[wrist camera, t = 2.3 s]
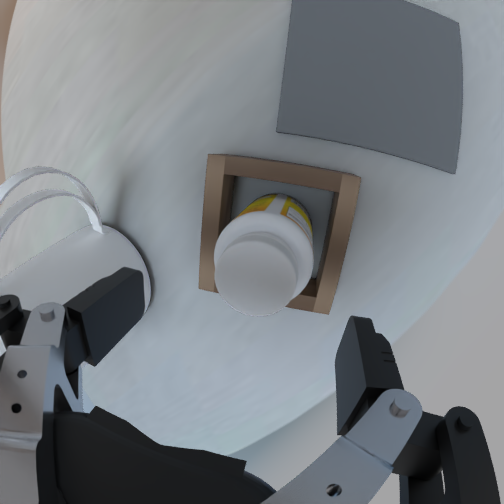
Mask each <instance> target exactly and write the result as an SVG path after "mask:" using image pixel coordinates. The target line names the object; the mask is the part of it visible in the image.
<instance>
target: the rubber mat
mask: <svg viewBox="0 0 504 504" xmlns="http://www.w3.org/2000/svg"><path fill="white" fill-rule="evenodd" d="M462 105H463V67H462V50H461V38H460V29H459V23H457V22H455V21H453V20H451V19H449V18H447V17H445V16H443V15H440V14H438V13H436V12H433V11H431V10H428V9H426V8H423V7H421V6H418V5H415V4H413V3H410V2H407V1H404V0H292V7H291V15H290V24H289V32H288V40H287V49H286V57H285V65H284V73H283V81H282V89H281V97H280V105H279V113H278V121H277V128H276V132H280V133H287V134H294V135H301V136H307V137H313V138H319V139H324V140H330V141H335V142H340V143H345V144H349V145H354V146H358V147H363V148H367V149H371V150H375V151H379V152H383V153H387V154H391V155H394V156H398V157H401V158H405V159H408V160H412V161H415V162H418V163H422V164H425V165H428V166H431V167H434V168H437V169H440V170H443V171H446V172H448V173H451V174H455V173H456V167H457V160H458V153H459V144H460V135H461V123H462Z"/></svg>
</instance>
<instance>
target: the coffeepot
mask: <svg viewBox="0 0 504 504" xmlns="http://www.w3.org/2000/svg"><path fill="white" fill-rule="evenodd" d="M44 173H59V174H62V175H64V176H66V177H67V178H68V179H69V180H71V181H72V182H73V183H74V184H75V186H76V187H77V188H78V190H79V191H80V193H81V194H82V196H83V198H84V199H82V198H81V197H79V196H77V195H75V194H72V193H70V192H68V191H65V190H61V189H46V190H41V191H37V192H35V193H32V194H30V195H28V196H26V197H24V198H22V199H21V200H19V201H17V202H16V203H15V204H14V205H12V206H11V207H10V208H9V209H8V210H7V211H6V212H5V213H4V214H3V215H2V216H1V217H0V241H1V239H2V237H3V235H4V234H5V232H6V231H7V229H8V228H9V226H10V225H11V224H12V222H13V221H14V220H15V219H16V218H17V217H18V216H19V215H20V214H21V213H23V212H24V211H25V210H26V209H28V208H29V207H31V206H33V205H34V204H36V203H38V202H40V201H42V200H45V199H47V198H51V197H55V196H72V197H73V198H75V199H76V200H77V201H78V202H79V203H80V204H81V205H82V206H83V207H84V208H85V209H86V211H87V213H88V216H89V220H90V223H92V225H89V226H86V227H84V228H81V229H80V230H78V231H76V232H74V233H73V234H71V235H69V236H67V237H66V238H64V239H62V240H61V241H59V242H57V243H56V244H54V245H52V246H51V247H49V248H47V249H46V250H44V251H42V252H41V253H39V254H38V255H36V256H35V257H33V258H31V259H30V260H28V261H27V262H25V263H24V264H22V265H21V266H19V267H18V268H16V269H15V270H13V271H12V272H10V273H9V274H8V275H6V276H5V277H3V278H2V279H0V296H3V295H8V294H12V295H16V296H17V297H18V298H19V300H20V303H21V307H22V309H25V310H30V311H32V310H33V309H34V308H35V307H37V306H38V305H40V304H43V303H48V302H55V303H59V304H61V305H63V304H65V303H66V302H68V301H69V300H70V299H72V298H73V297H75V296H76V295H78V294H79V293H80V292H82V291H83V290H84V291H85V289H86V288H88V287H89V286H92V284H94V283H95V282H97V281H98V280H100V279H102V278H105V277H108V276H110V275H112V274H113V273H115V272H116V271H118V270H119V269H121V268H122V267H128V268H132V269H136V270H140V271H141V272H142V273H143V278H144V296H145V310H144V313H145V312H146V310H147V308H148V305H149V302H150V296H151V286H150V279H149V275H148V272H147V269H146V266H145V263H144V261H143V259H142V257H141V256H140V254H139V252H138V251H137V249H136V248H135V247H134V245H133V244H132V243H131V242H130V241H129V240H128V239H127V238H126V237H125V236H124V235H122V234H121V233H120V232H118V231H117V230H115V229H113V228H111V227H108V226H105V225H102V222H101V218H100V214H99V210H98V207H97V205H96V202H95V200H94V198H93V196H92V195H91V193H90V191H89V190H88V189H87V187H86V186H85V185H84V184H83V183H82V182H81V181H80V180H79V179H78V178H76V177H74V176H72V175H71V174H69V173H66V172H63V171H60V170H57V169H54V168H51V167H41V166H38V167H33V168H27V169H24V170H22V171H20V172H18V173H16V174H14V175H13V176H11V177H10V178H9V179H8V180H6V181H5V182H4V183H3V184H2V185H1V186H0V205H1V203H2V202H3V201H4V199H5V198H6V197H7V196H8V194H9V193H10V192H11V191H12V190H13V189H14V188H16V187H17V186H18V185H19V184H20V183H22V182H23V181H25V180H27V179H29V178H31V177H33V176H35V175H40V174H44ZM143 315H144V314H143ZM4 352H6V348H5V346H4V344H3V341H2V339H1V336H0V356H1V355H2V354H3V353H4ZM87 364H88V363H87V362H85V361H83V362H82V363H81V364H80V365H81V368H82V369H83V368H84V367H85V366H86V365H87Z"/></svg>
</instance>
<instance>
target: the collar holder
mask: <svg viewBox="0 0 504 504" xmlns="http://www.w3.org/2000/svg"><path fill="white" fill-rule="evenodd" d="M235 176H242V177H250V178H257V179H264V180H270V181H277V182H283V183H289V184H295V185H301V186H307V187H313V188H318V189H323V190H329V191H334V196H333V201H332V207H331V212H330V217H329V223H328V228H327V232H326V237H325V242H324V247H323V251H322V256H321V261H320V265H319V269H318V274H317V278H316V279H310V280H309V282H308V283H307V285H306V287H305V288H304V289H303V290H302V292H301V293H300V294H299V295H297V296H296V297H295V298H293V299H292V300H290V302H289V303H288V304H287V305H286V306H285V307H289V308H294V309H299V310H305V311H311V312H316V313H322V314H328V315H329V312H330V309H331V305H332V302H333V299H334V295H335V291H336V288H337V284H338V281H339V277H340V273H341V269H342V265H343V261H344V257H345V253H346V249H347V245H348V241H349V236H350V232H351V227H352V223H353V218H354V213H355V208H356V203H357V198H358V193H359V188H360V182H361V177H358V176H356V175H354V174H349V173H344V172H340V171H335V170H329V169H324V168H319V167H313V166H308V165H302V164H296V163H289V162H283V161H276V160H269V159H262V158H254V157H246V156H237V155H227V154H208V159H207V169H206V180H205V191H204V204H203V217H202V232H201V248H200V268H199V289H202V290H207V291H211V292H215V293H219V292H218V290H217V287H216V284H215V265H214V251H215V246H216V242H217V240H218V238H219V236H220V234H221V232H222V231H223V230H224V228H225V227H226V226H227V225H228V224H229V223H230V217H231V207H232V198H233V188H234V179H235Z"/></svg>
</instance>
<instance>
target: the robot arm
mask: <svg viewBox="0 0 504 504" xmlns="http://www.w3.org/2000/svg"><path fill="white" fill-rule="evenodd" d="M144 310H145V296H144V278H143V273H142V272H141V271H140V270H136V269H132V268H128V267H122V268H121V269H119V270H118V271H116V272H115V273H113V274H112V275H110V276H108V277H105V278H102V279H100V280H98V281H97V282H95V283H94V284H92V286H89V287H88V288H86V289H85V291H84V290H83V291H82V292H80V293H79V294H78V295H76V296H75V297H73V298H72V299H70V300H69V301H68V302H66V303H65V304H63V305H61V304H59V303H55V302H48V303H43V304H40V305H38V306H37V307H35V308H34V309H33V310H32V311H30V310H25V309H22V307H21V303H20V300H19V298H18V297H17V296H16V295H12V294H8V295H3V296H0V336H1V339H2V341H3V344H4V346H5V348H6V352H4V353H3V354H2V355H1V356H0V504H368V503H369V502H370V501H371V499H372V498H373V497H374V496H375V494H376V493H377V492H378V490H379V489H380V488H381V486H382V485H383V484H384V482H385V481H386V480H387V478H388V477H389V475H390V474H391V473H395V474H399V480H400V504H501V503H500V497H499V491H498V486H497V481H496V477H495V472H494V468H493V464H492V460H491V457H490V452H489V449H488V445H487V442H486V439H485V436H484V433H483V430H482V427H481V424H480V421H479V419H478V417H477V416H476V415H475V414H474V413H473V412H472V411H471V410H469V409H467V408H465V407H460V406H458V407H453V408H451V409H450V410H449V411H448V412H447V414H446V415H445V416H444V417H442V416H438V415H434V414H430V413H427V412H424V411H422V406H421V404H420V402H419V400H418V399H417V398H416V397H415V396H414V395H413V394H411V393H409V392H407V391H405V390H404V387H403V384H402V381H401V377H400V374H399V371H398V367H397V364H396V363H395V358H394V355H393V352H392V349H391V346H390V343H389V342H388V341H387V339H386V338H385V337H384V336H383V335H382V334H379V333H376V332H375V329H374V326H373V323H372V320H371V319H370V318H364V317H357V316H350V318H349V320H348V323H347V325H346V328H345V331H344V334H343V337H342V339H341V342H340V345H339V347H338V350H337V354H336V359H335V374H336V394H337V395H336V396H337V435H342V436H341V437H340V438H339V439H338V440H336V441H335V442H334V443H333V444H332V445H331V446H330V447H329V448H328V449H327V450H326V451H325V452H324V453H323V454H322V455H321V456H320V457H319V458H317V459H316V460H315V461H314V462H313V463H312V464H311V465H310V466H308V467H307V468H306V469H305V470H304V471H303V472H301V473H300V474H299V475H298V476H297V477H296V478H294V479H293V480H292V481H290V482H289V483H288V484H286V485H285V486H284V487H283V488H281V489H280V490H279V491H276V490H274V489H273V488H272V487H271V486H270V485H269V484H267V483H266V482H264V481H263V480H262V479H260V478H258V477H256V476H255V475H253V474H251V473H248V472H246V471H244V469H245V465H246V461H244V460H240V459H235V458H232V457H227V456H224V455H220V454H216V453H212V452H209V451H205V450H196V449H187V448H178V447H171V446H164V445H160V444H158V443H156V442H155V441H153V440H152V439H150V438H149V437H147V436H146V435H145V434H143V433H142V432H141V431H139V430H138V429H137V428H135V427H134V426H133V425H131V424H130V423H129V422H127V421H126V420H124V419H121V418H119V417H117V416H115V415H113V414H111V413H109V412H107V411H105V410H103V409H101V408H100V407H98V406H95V407H94V409H93V410H92V411H91V412H90V414H89V413H84V411H83V399H82V368H81V365H80V364H81V363H82V362H83V361H85V362H87V363H89V364H91V365H93V366H96V365H97V364H98V363H99V362H100V361H101V360H102V359H103V358H104V357H105V356H106V355H107V354H108V353H109V351H110V350H111V349H112V348H113V347H114V346H115V345H116V344H117V343H118V342H119V341H120V340H121V339H122V338H123V337H124V336H125V335H126V334H127V333H128V332H129V331H130V330H131V328H132V327H133V326H134V325H135V324H136V323H137V322H138V321H139V320H140V319H141V318H142V316H143V314H144ZM442 470H443V474H444V482H445V494H444V489H443V481H442V474H441V471H442Z"/></svg>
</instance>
